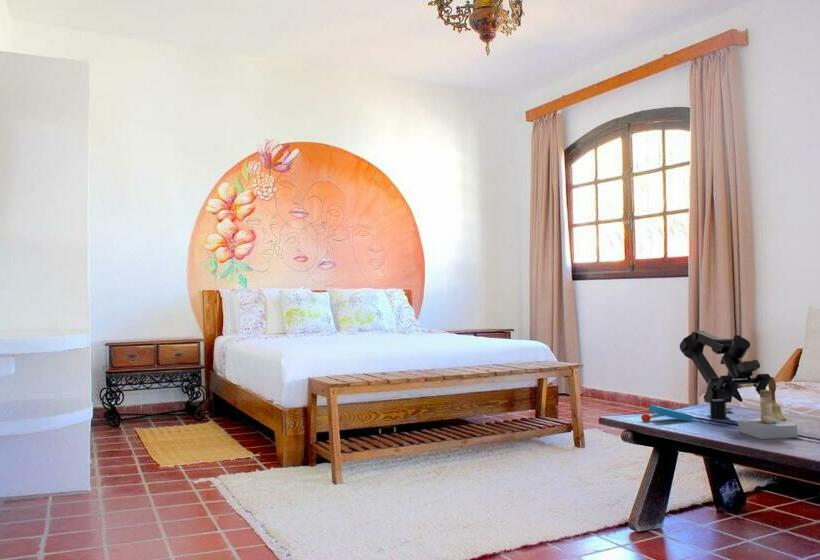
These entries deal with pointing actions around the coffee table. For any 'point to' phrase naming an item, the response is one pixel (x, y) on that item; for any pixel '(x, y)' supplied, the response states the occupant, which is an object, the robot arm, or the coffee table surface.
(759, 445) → the coffee table surface
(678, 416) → the lever
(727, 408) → the pacifier
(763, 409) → the birch peg
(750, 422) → the socket block
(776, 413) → the hand bell
